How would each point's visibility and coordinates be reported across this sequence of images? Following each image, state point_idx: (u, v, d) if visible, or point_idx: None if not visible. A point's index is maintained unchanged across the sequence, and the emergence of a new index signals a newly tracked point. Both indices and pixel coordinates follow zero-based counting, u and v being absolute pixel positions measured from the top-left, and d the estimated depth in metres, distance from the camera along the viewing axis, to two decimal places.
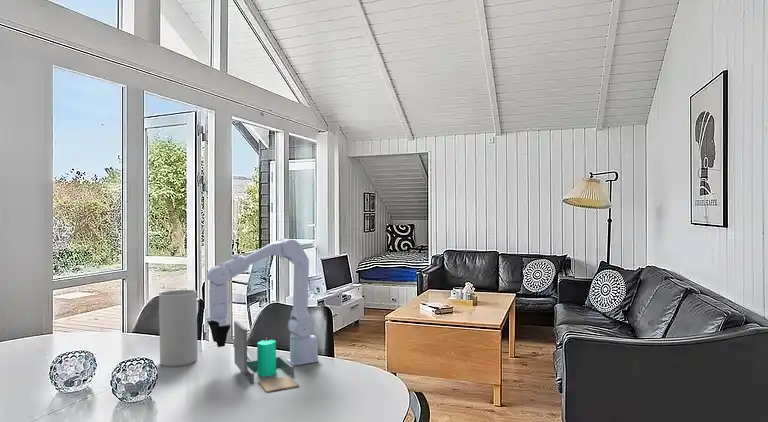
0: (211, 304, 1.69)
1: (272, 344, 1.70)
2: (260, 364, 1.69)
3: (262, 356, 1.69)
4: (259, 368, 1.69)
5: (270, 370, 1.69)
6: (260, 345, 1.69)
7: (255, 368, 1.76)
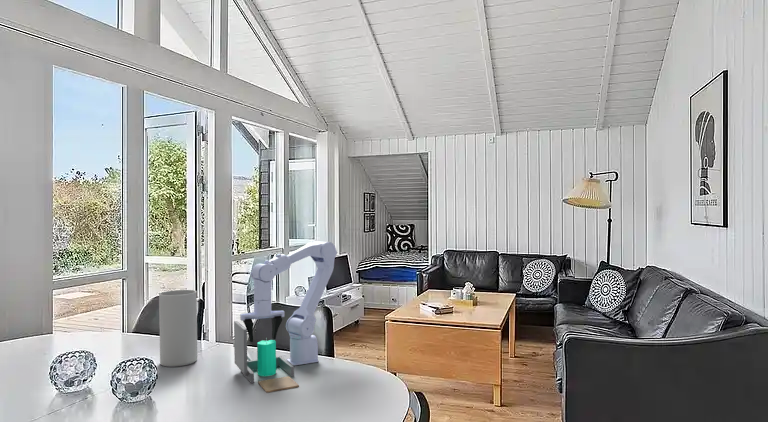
0: None
1: (272, 344, 1.70)
2: (260, 364, 1.69)
3: (262, 356, 1.69)
4: (259, 368, 1.69)
5: (270, 370, 1.69)
6: (260, 345, 1.69)
7: (255, 368, 1.76)
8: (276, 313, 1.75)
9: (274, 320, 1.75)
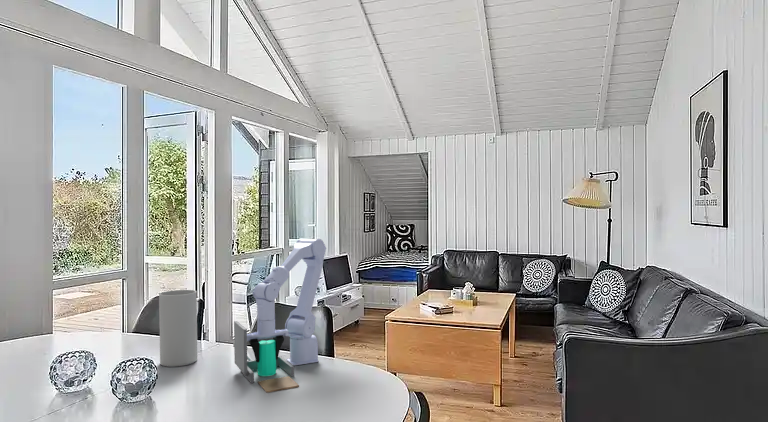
0: None
1: (272, 344, 1.70)
2: (260, 364, 1.69)
3: (262, 356, 1.69)
4: (259, 368, 1.69)
5: (270, 370, 1.69)
6: (260, 345, 1.69)
7: (255, 368, 1.76)
8: (280, 332, 1.72)
9: (276, 340, 1.72)
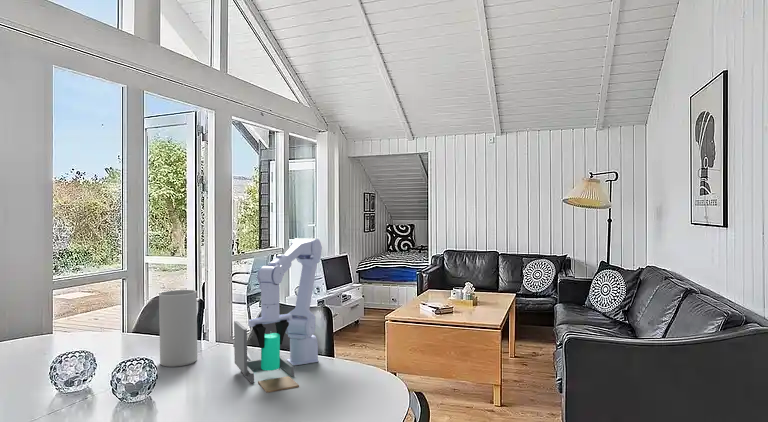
0: None
1: (278, 337, 1.65)
2: (265, 359, 1.64)
3: (268, 350, 1.64)
4: (264, 362, 1.64)
5: (275, 364, 1.65)
6: (266, 339, 1.64)
7: (255, 368, 1.76)
8: (284, 317, 1.68)
9: (280, 325, 1.68)
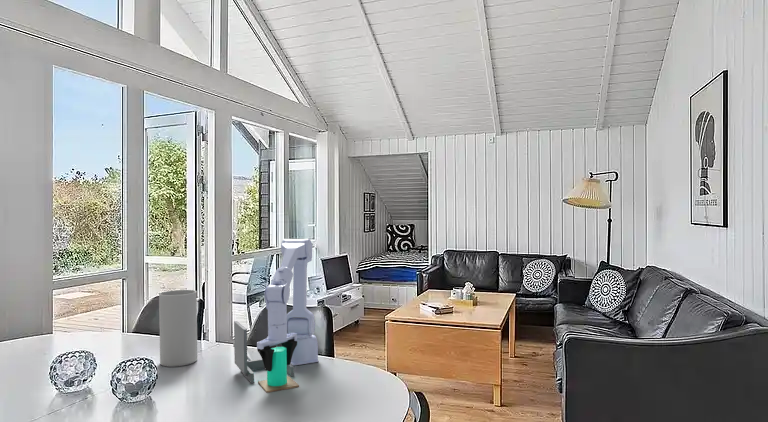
0: None
1: (285, 350, 1.60)
2: (274, 374, 1.57)
3: (276, 365, 1.57)
4: (272, 378, 1.57)
5: (284, 379, 1.59)
6: (274, 353, 1.57)
7: (255, 368, 1.76)
8: (291, 336, 1.62)
9: (288, 345, 1.62)
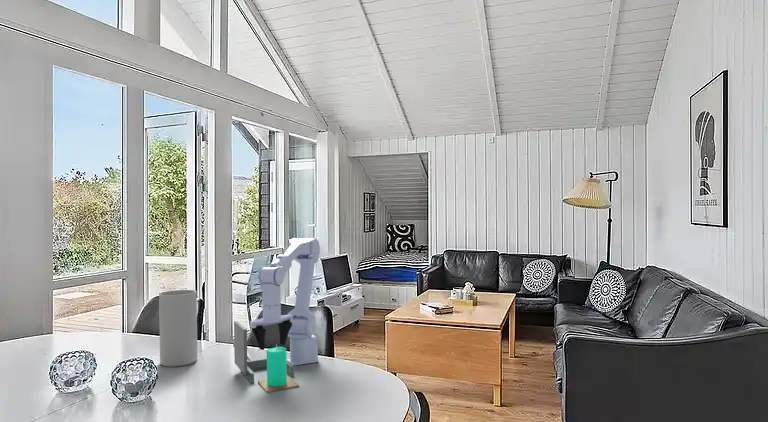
0: None
1: (285, 350, 1.60)
2: (274, 374, 1.57)
3: (276, 365, 1.57)
4: (272, 378, 1.57)
5: (284, 379, 1.59)
6: (274, 353, 1.57)
7: (255, 368, 1.76)
8: (286, 318, 1.67)
9: (283, 325, 1.67)
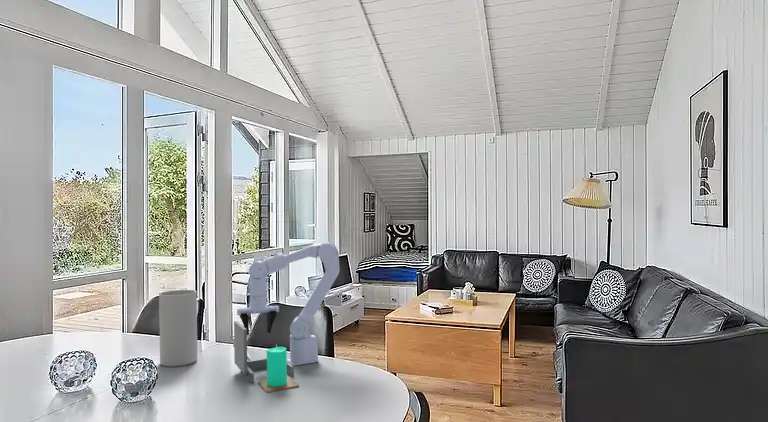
0: None
1: (285, 350, 1.60)
2: (274, 374, 1.57)
3: (276, 365, 1.57)
4: (272, 378, 1.57)
5: (284, 379, 1.59)
6: (274, 353, 1.57)
7: (255, 368, 1.76)
8: (271, 308, 1.84)
9: (269, 315, 1.84)
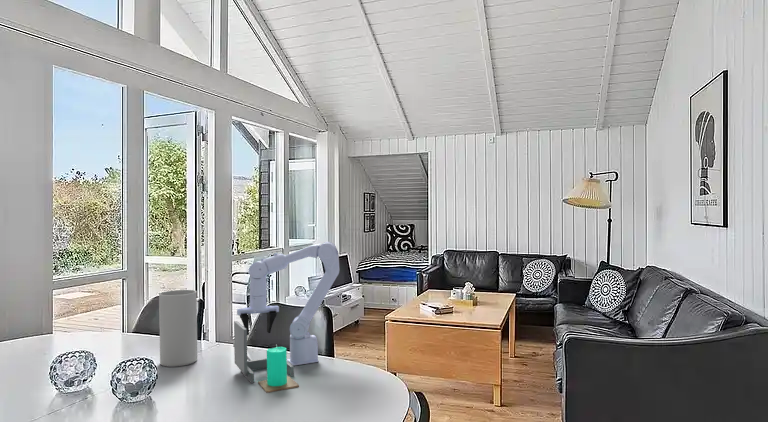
0: None
1: (285, 350, 1.60)
2: (274, 374, 1.57)
3: (276, 365, 1.57)
4: (272, 378, 1.57)
5: (284, 379, 1.59)
6: (274, 353, 1.57)
7: (255, 368, 1.76)
8: (271, 308, 1.84)
9: (269, 315, 1.84)
